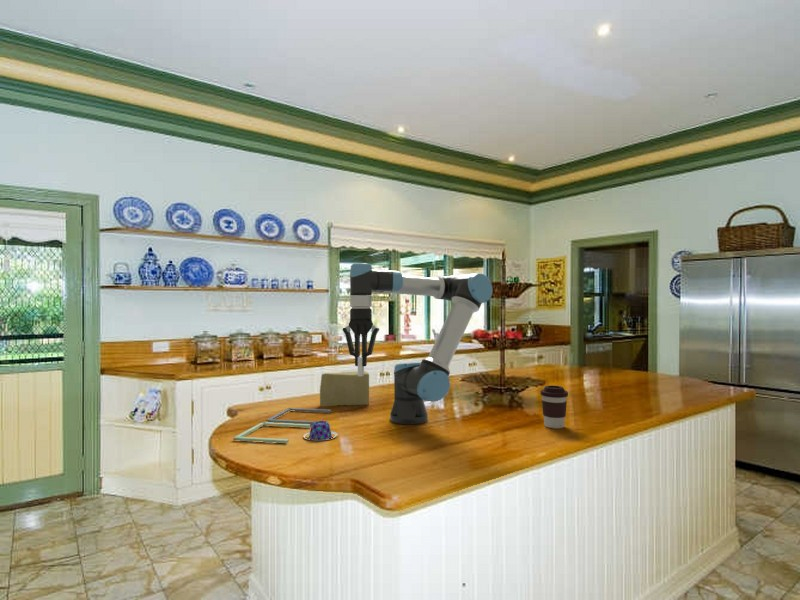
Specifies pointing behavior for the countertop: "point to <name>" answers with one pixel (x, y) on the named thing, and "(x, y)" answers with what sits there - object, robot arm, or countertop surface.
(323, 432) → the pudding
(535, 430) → the countertop surface
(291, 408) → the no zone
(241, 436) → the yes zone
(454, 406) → the countertop surface
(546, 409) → the coffee cup
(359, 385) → the olive beige rectangular block
